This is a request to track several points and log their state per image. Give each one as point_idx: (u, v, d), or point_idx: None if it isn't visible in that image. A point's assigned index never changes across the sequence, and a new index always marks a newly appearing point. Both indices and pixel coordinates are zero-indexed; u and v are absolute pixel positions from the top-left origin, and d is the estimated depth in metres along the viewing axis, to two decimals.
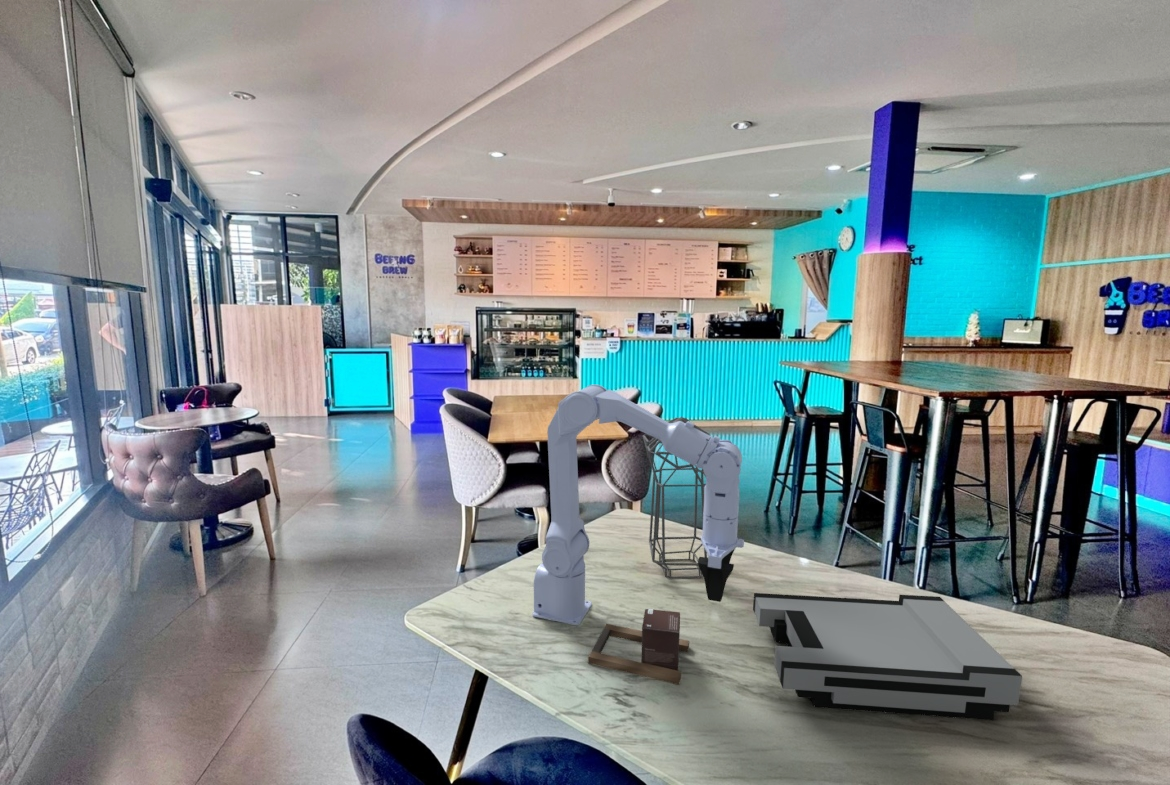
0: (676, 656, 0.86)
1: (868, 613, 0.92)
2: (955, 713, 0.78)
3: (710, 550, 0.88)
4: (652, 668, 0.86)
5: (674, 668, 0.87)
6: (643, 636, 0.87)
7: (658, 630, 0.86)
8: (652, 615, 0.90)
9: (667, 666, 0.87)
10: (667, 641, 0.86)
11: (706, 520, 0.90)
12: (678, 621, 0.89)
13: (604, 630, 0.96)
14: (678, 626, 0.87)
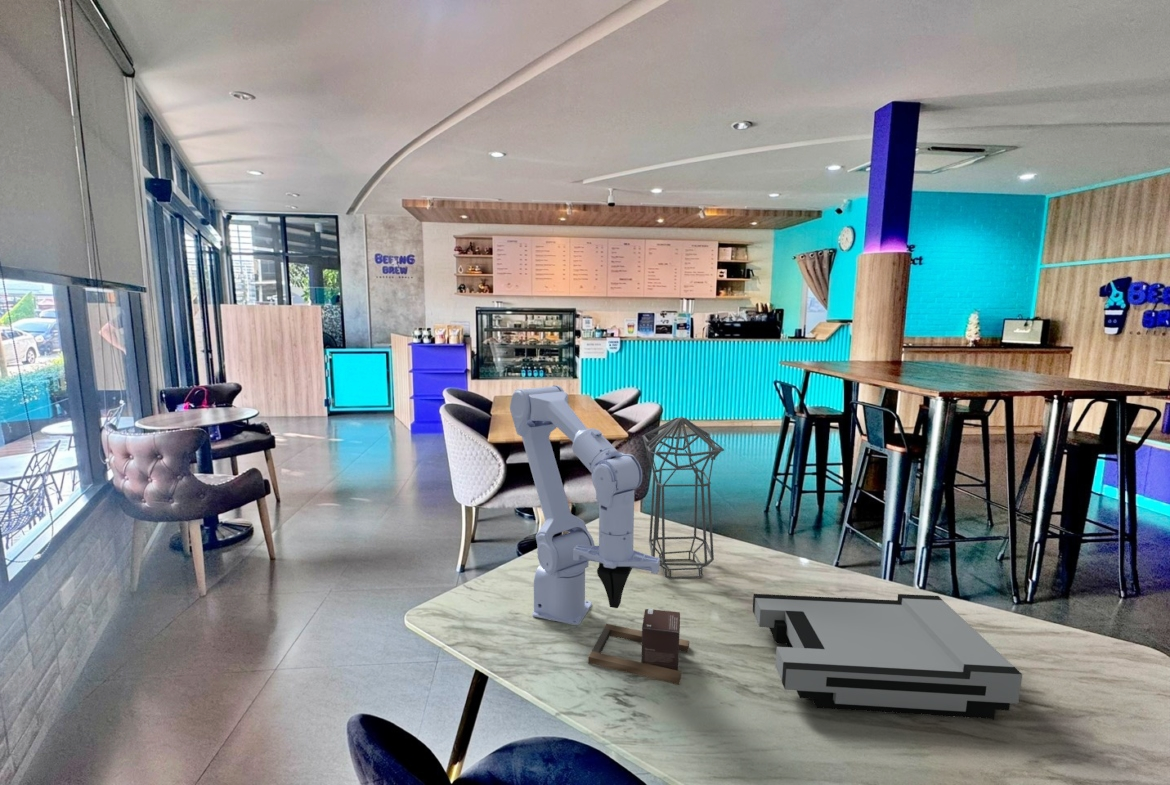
0: (676, 656, 0.86)
1: (868, 613, 0.92)
2: (956, 712, 0.78)
3: (590, 548, 0.92)
4: (652, 668, 0.86)
5: (674, 668, 0.87)
6: (643, 636, 0.87)
7: (658, 630, 0.86)
8: (652, 615, 0.90)
9: (667, 666, 0.87)
10: (667, 641, 0.86)
11: None
12: (678, 621, 0.89)
13: (604, 630, 0.96)
14: (678, 626, 0.87)
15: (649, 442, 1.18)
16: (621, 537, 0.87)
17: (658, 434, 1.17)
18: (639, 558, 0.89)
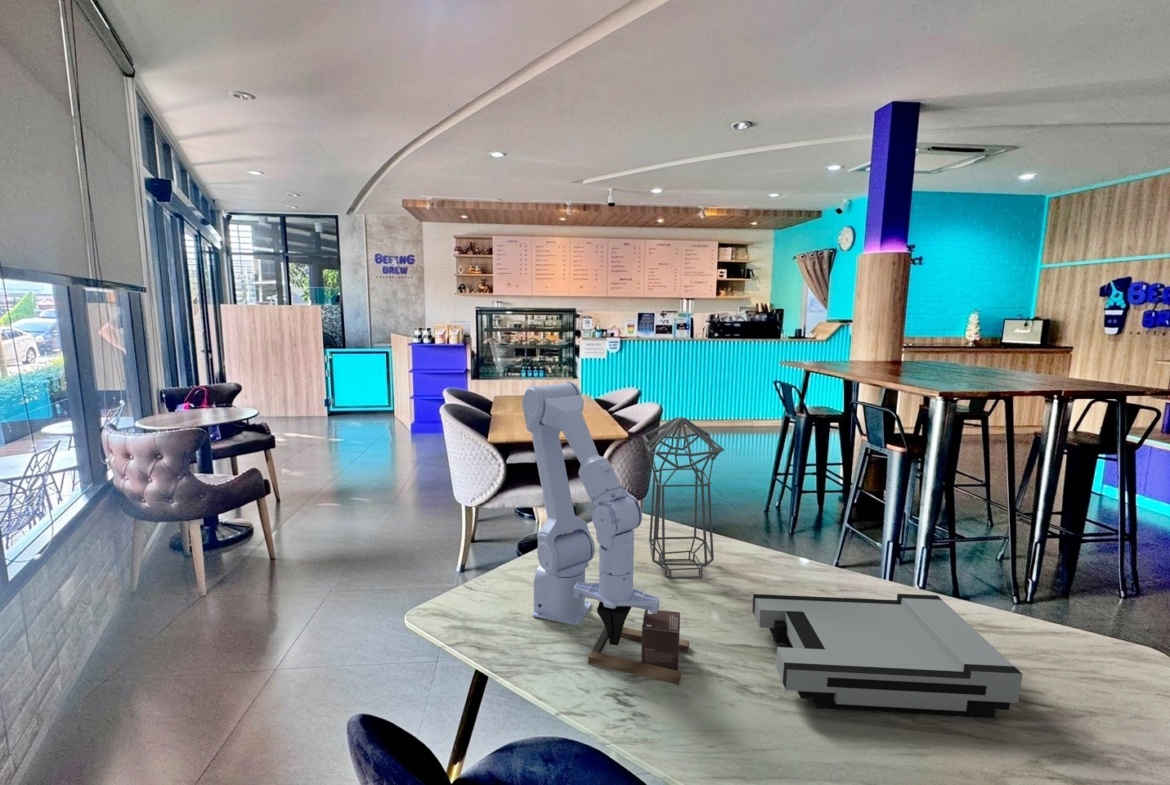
0: (676, 656, 0.86)
1: (868, 613, 0.92)
2: (956, 712, 0.78)
3: (590, 585, 0.93)
4: (652, 668, 0.86)
5: (674, 668, 0.87)
6: (643, 636, 0.87)
7: (658, 630, 0.86)
8: (652, 615, 0.90)
9: (667, 666, 0.87)
10: (667, 641, 0.86)
11: None
12: (678, 621, 0.89)
13: (604, 630, 0.96)
14: (678, 626, 0.87)
15: (649, 442, 1.18)
16: (621, 577, 0.88)
17: (658, 434, 1.17)
18: (639, 597, 0.90)
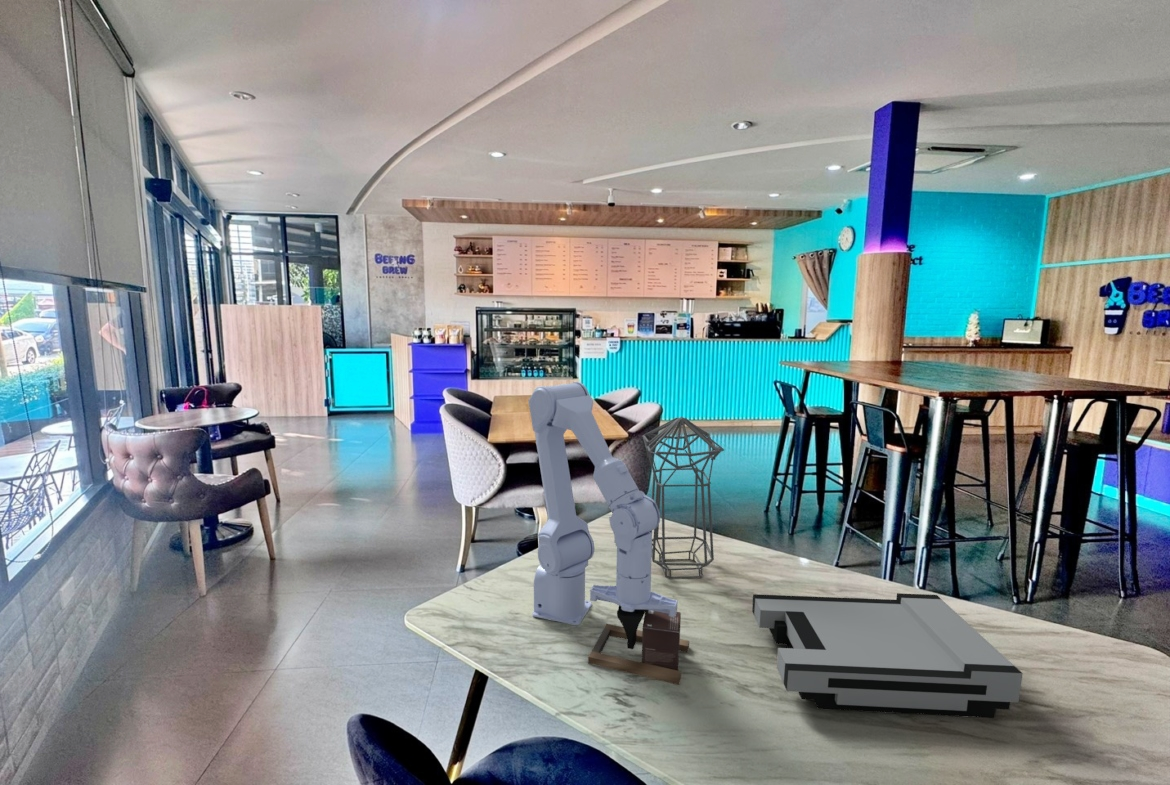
0: (676, 656, 0.86)
1: (867, 613, 0.92)
2: (957, 711, 0.78)
3: None
4: (652, 668, 0.86)
5: (674, 668, 0.87)
6: (644, 636, 0.87)
7: (658, 630, 0.86)
8: (653, 615, 0.90)
9: (668, 666, 0.87)
10: (667, 641, 0.86)
11: None
12: (679, 621, 0.89)
13: (604, 630, 0.96)
14: (679, 626, 0.87)
15: (649, 442, 1.18)
16: (639, 580, 0.87)
17: (658, 434, 1.17)
18: (657, 600, 0.89)
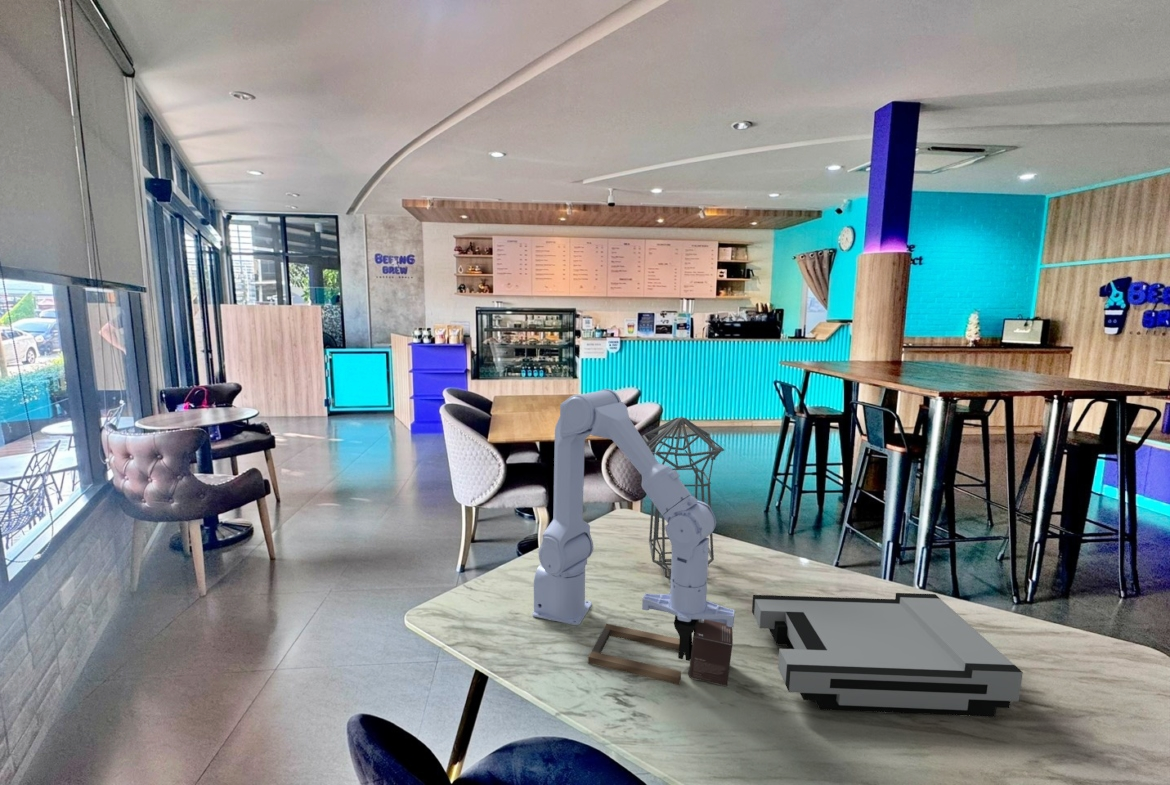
0: (727, 669, 0.83)
1: (867, 612, 0.92)
2: (957, 711, 0.78)
3: (659, 597, 0.89)
4: (652, 668, 0.86)
5: (724, 681, 0.84)
6: (694, 645, 0.84)
7: (710, 641, 0.83)
8: (703, 624, 0.87)
9: (717, 678, 0.84)
10: (718, 653, 0.83)
11: None
12: (731, 633, 0.85)
13: (604, 630, 0.96)
14: (731, 638, 0.84)
15: (649, 442, 1.18)
16: (696, 589, 0.84)
17: (658, 434, 1.17)
18: (713, 610, 0.86)
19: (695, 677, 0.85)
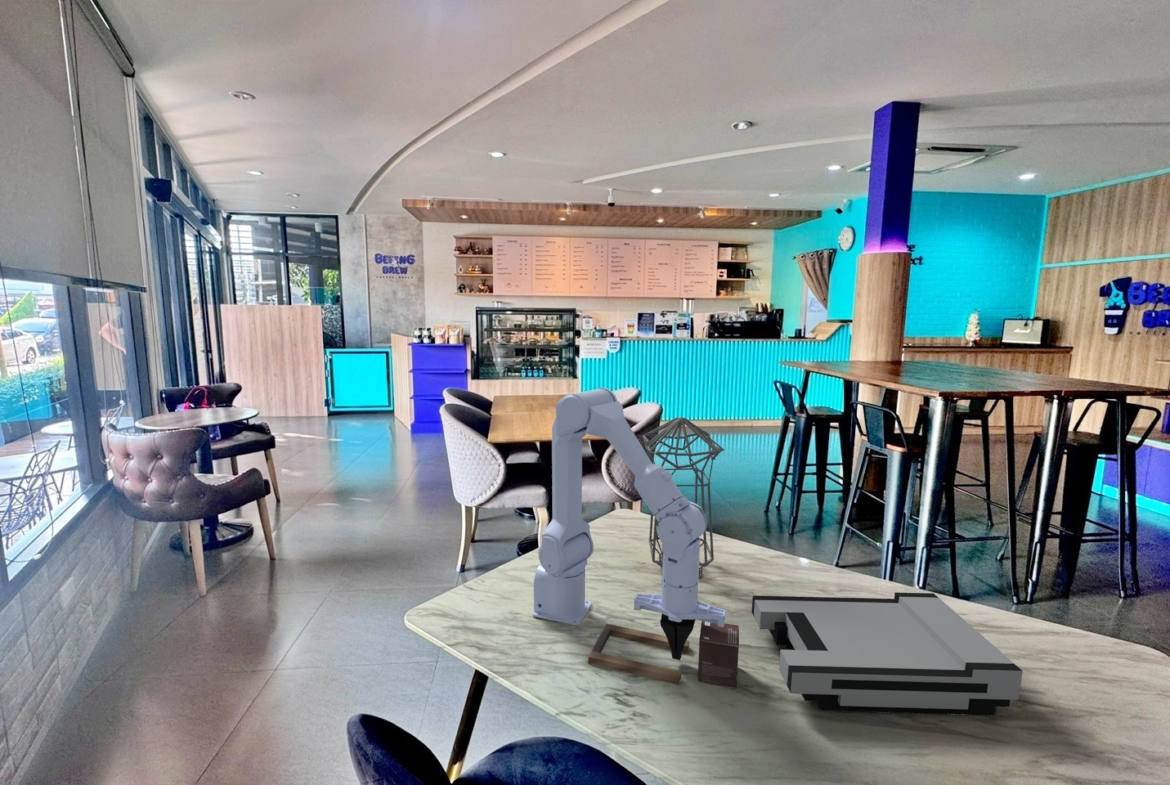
0: (735, 671, 0.83)
1: (867, 612, 0.92)
2: (958, 710, 0.78)
3: (651, 597, 0.90)
4: (652, 668, 0.86)
5: (733, 684, 0.83)
6: (700, 649, 0.84)
7: (716, 643, 0.83)
8: (709, 627, 0.87)
9: (726, 681, 0.83)
10: (725, 655, 0.83)
11: None
12: (737, 635, 0.85)
13: (604, 630, 0.96)
14: (737, 640, 0.84)
15: (649, 442, 1.18)
16: (687, 589, 0.84)
17: (658, 434, 1.17)
18: (704, 610, 0.86)
19: (704, 681, 0.84)
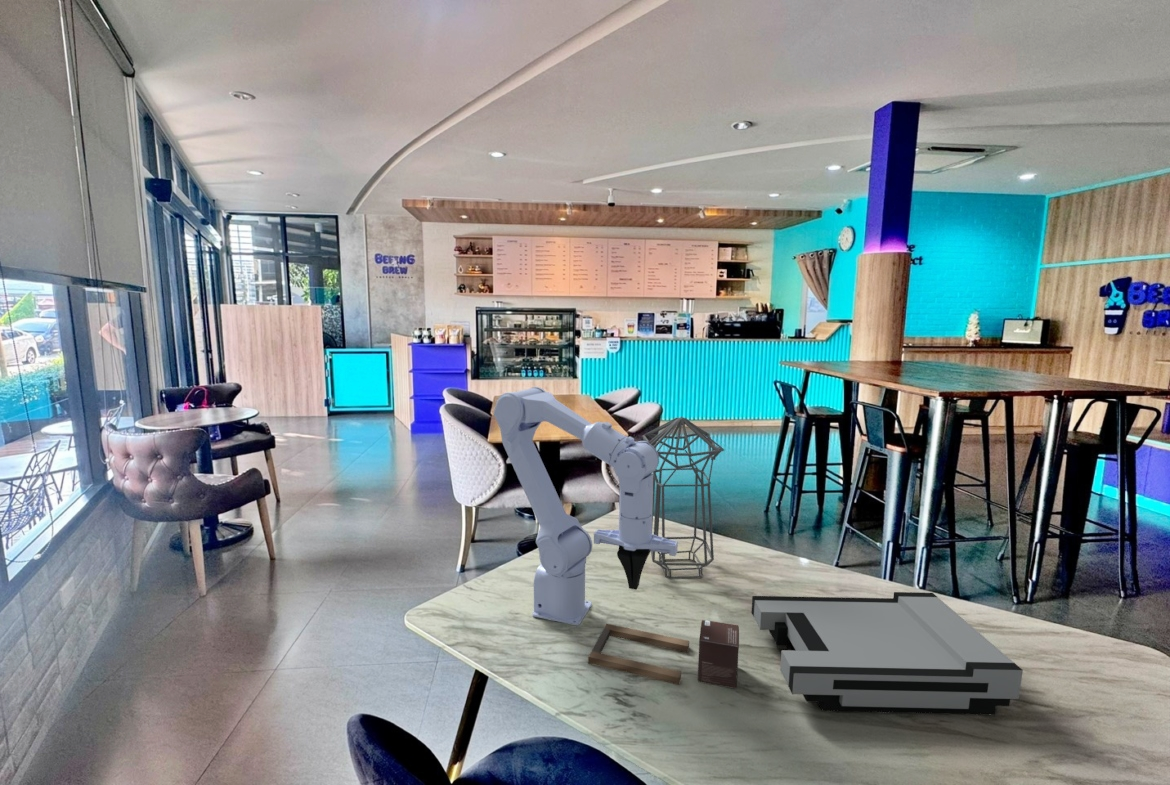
0: (735, 671, 0.83)
1: (866, 612, 0.92)
2: (958, 709, 0.78)
3: (610, 532, 0.96)
4: (652, 668, 0.86)
5: (733, 683, 0.83)
6: (700, 649, 0.84)
7: (716, 643, 0.83)
8: (709, 627, 0.87)
9: (726, 681, 0.83)
10: (725, 655, 0.83)
11: None
12: (737, 635, 0.85)
13: (604, 630, 0.96)
14: (737, 640, 0.84)
15: (649, 442, 1.18)
16: (641, 521, 0.90)
17: (658, 434, 1.17)
18: (658, 541, 0.92)
19: (704, 681, 0.84)
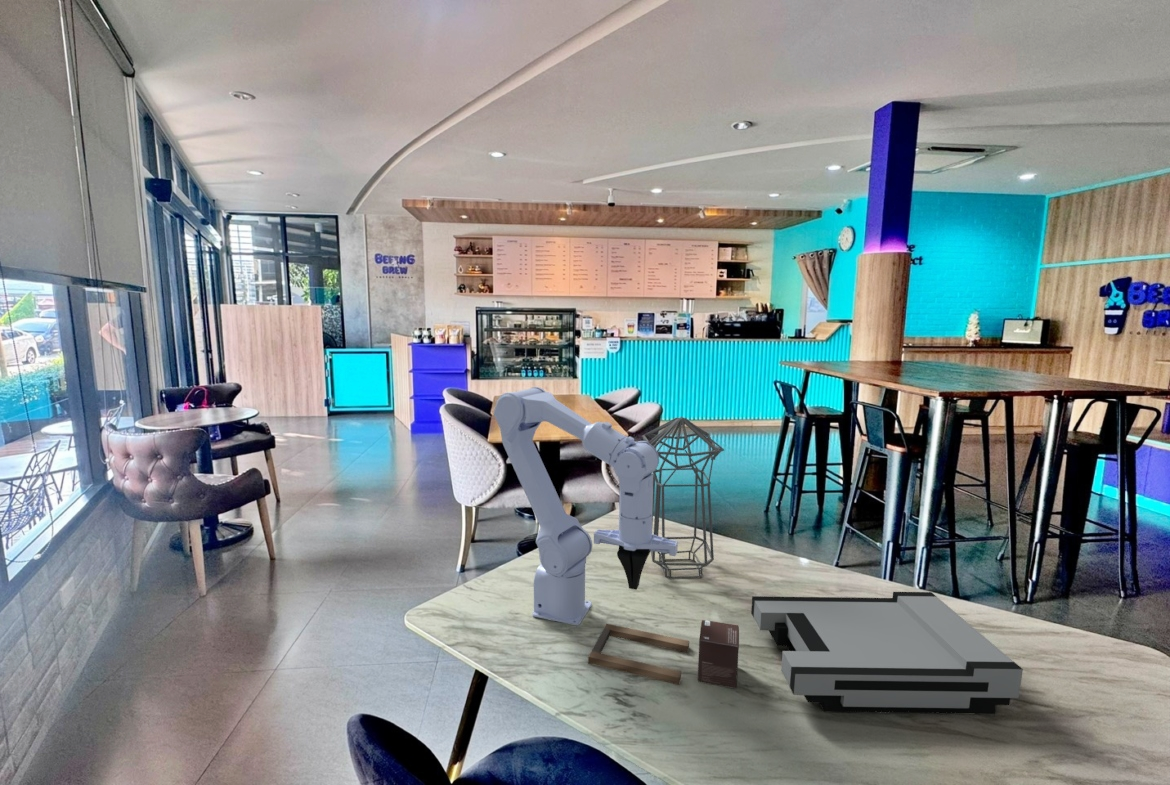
0: (735, 671, 0.83)
1: (866, 612, 0.93)
2: (959, 709, 0.78)
3: (610, 532, 0.96)
4: (652, 668, 0.86)
5: (733, 683, 0.83)
6: (700, 649, 0.84)
7: (716, 643, 0.83)
8: (709, 627, 0.87)
9: (726, 681, 0.83)
10: (725, 655, 0.83)
11: None
12: (737, 635, 0.85)
13: (604, 630, 0.96)
14: (737, 640, 0.84)
15: (649, 442, 1.18)
16: (641, 521, 0.90)
17: (658, 434, 1.17)
18: (658, 541, 0.92)
19: (704, 681, 0.84)
